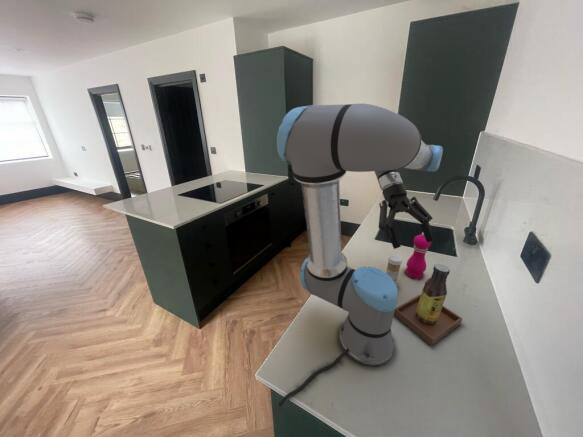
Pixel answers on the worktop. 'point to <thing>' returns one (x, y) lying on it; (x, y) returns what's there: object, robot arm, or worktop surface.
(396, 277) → the sprinkles bottle
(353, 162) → the robot arm
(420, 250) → the pepper mill
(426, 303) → the sauce bottle
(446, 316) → the serving tray
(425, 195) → the worktop surface
